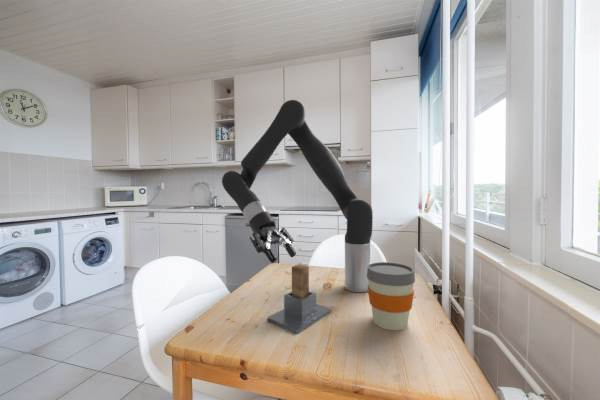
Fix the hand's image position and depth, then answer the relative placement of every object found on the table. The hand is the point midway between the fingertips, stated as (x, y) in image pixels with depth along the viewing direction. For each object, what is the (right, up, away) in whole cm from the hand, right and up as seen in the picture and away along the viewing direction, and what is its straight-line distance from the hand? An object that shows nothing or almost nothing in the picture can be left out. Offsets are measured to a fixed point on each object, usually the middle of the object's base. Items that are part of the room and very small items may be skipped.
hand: (284, 258), depth 80 cm
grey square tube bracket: (+5, -16, -3) cm, 17 cm away
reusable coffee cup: (+29, -16, -7) cm, 34 cm away
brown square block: (+5, -14, -3) cm, 15 cm away
